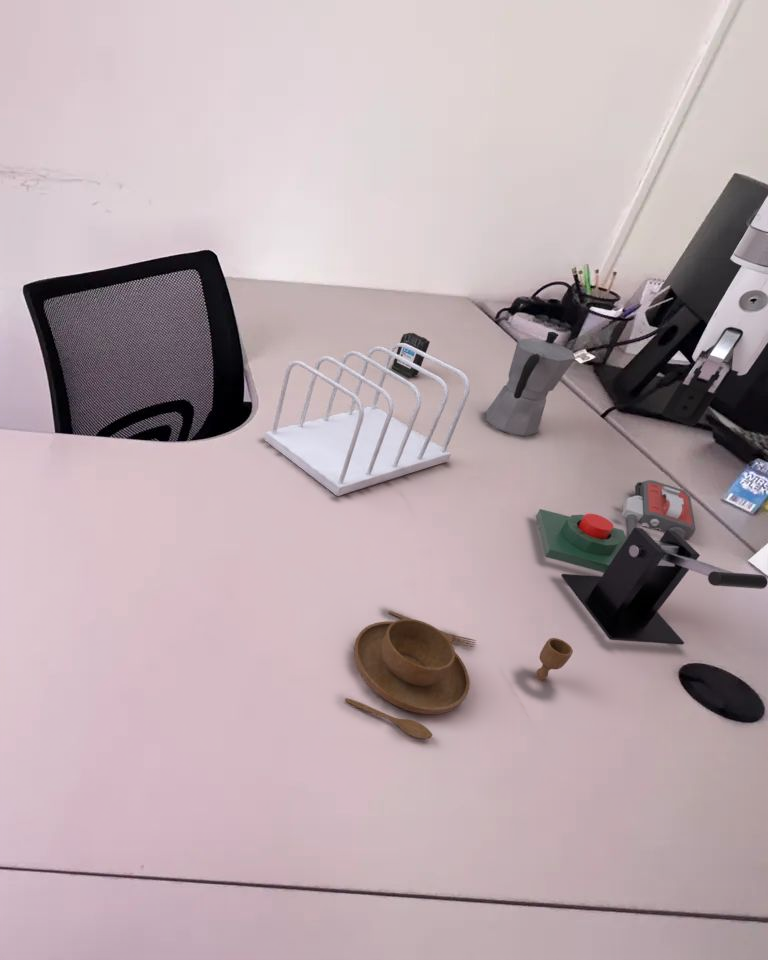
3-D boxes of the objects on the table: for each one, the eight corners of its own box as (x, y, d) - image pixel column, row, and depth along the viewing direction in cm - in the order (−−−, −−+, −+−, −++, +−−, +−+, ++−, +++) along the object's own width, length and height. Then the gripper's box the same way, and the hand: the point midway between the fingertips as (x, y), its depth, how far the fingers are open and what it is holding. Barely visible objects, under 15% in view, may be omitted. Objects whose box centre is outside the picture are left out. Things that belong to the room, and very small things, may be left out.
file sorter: (370, 414, 123) (397, 333, 114) (447, 463, 111) (485, 378, 102) (263, 440, 112) (284, 353, 103) (336, 498, 100) (367, 405, 91)
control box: (615, 541, 97) (629, 520, 95) (632, 586, 89) (648, 563, 87) (533, 520, 99) (545, 498, 97) (542, 561, 92) (556, 539, 89)
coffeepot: (496, 403, 131) (536, 315, 121) (547, 422, 126) (593, 332, 116) (467, 428, 122) (508, 335, 111) (521, 450, 117) (569, 354, 106)
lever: (764, 595, 68) (770, 572, 68) (717, 592, 68) (723, 569, 68) (666, 560, 80) (671, 541, 80) (626, 557, 80) (630, 538, 80)
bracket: (679, 649, 80) (739, 576, 73) (606, 644, 80) (660, 570, 73) (623, 584, 89) (672, 514, 82) (557, 580, 89) (601, 509, 82)
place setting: (371, 601, 82) (386, 565, 79) (550, 677, 75) (575, 640, 71) (330, 701, 69) (346, 664, 66) (542, 805, 62) (572, 768, 58)
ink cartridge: (390, 368, 141) (402, 332, 136) (397, 367, 142) (409, 331, 137) (410, 378, 137) (423, 342, 133) (417, 376, 138) (430, 340, 134)
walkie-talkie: (618, 485, 110) (618, 548, 96) (632, 462, 107) (634, 524, 93) (681, 505, 107) (691, 574, 92) (697, 482, 104) (710, 550, 90)
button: (604, 527, 93) (610, 517, 92) (610, 543, 90) (616, 532, 89) (575, 520, 94) (581, 510, 93) (580, 535, 91) (586, 525, 90)
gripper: (826, 279, 59) (712, 446, 68) (840, 251, 69) (739, 399, 79) (723, 256, 63) (630, 416, 72) (751, 233, 73) (666, 375, 83)
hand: (687, 407), depth 76 cm, fingers open, 9 cm apart
